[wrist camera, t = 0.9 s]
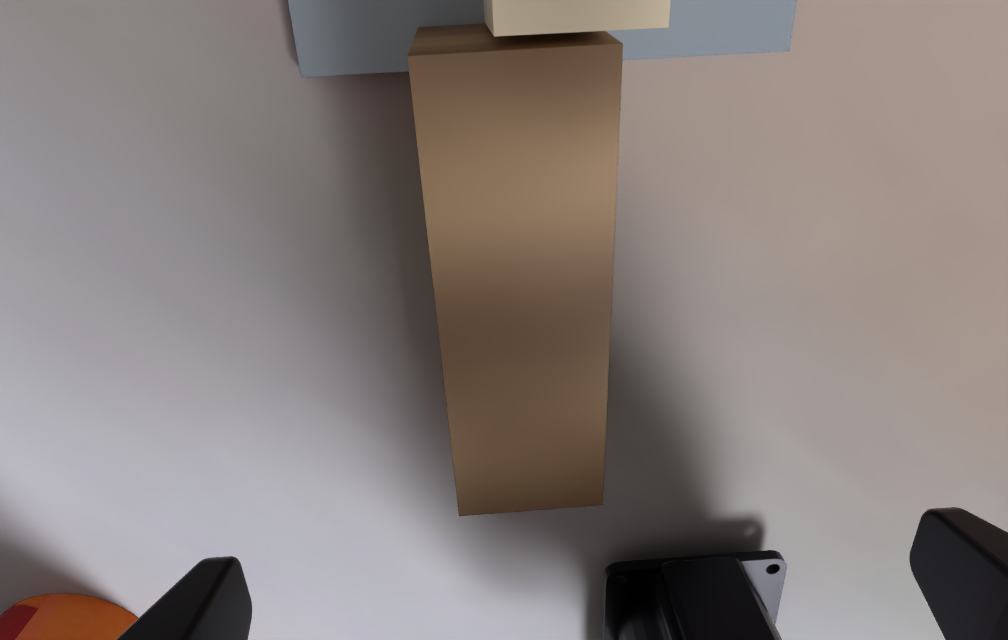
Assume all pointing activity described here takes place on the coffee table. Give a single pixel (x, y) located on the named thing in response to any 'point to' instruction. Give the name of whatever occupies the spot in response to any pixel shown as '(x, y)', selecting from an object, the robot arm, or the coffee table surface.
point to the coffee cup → (64, 619)
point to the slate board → (401, 18)
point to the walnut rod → (521, 254)
